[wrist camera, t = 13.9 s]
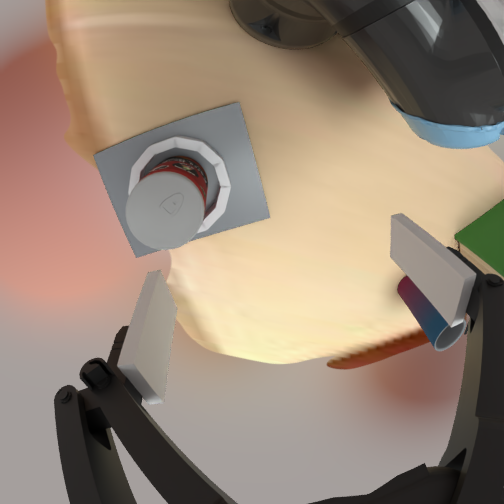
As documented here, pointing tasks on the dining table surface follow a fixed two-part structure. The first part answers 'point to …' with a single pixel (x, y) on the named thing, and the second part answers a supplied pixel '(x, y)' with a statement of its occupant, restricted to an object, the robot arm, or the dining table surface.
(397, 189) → the dining table surface
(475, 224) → the hardback book
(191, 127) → the holder
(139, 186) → the canned food
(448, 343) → the cup
